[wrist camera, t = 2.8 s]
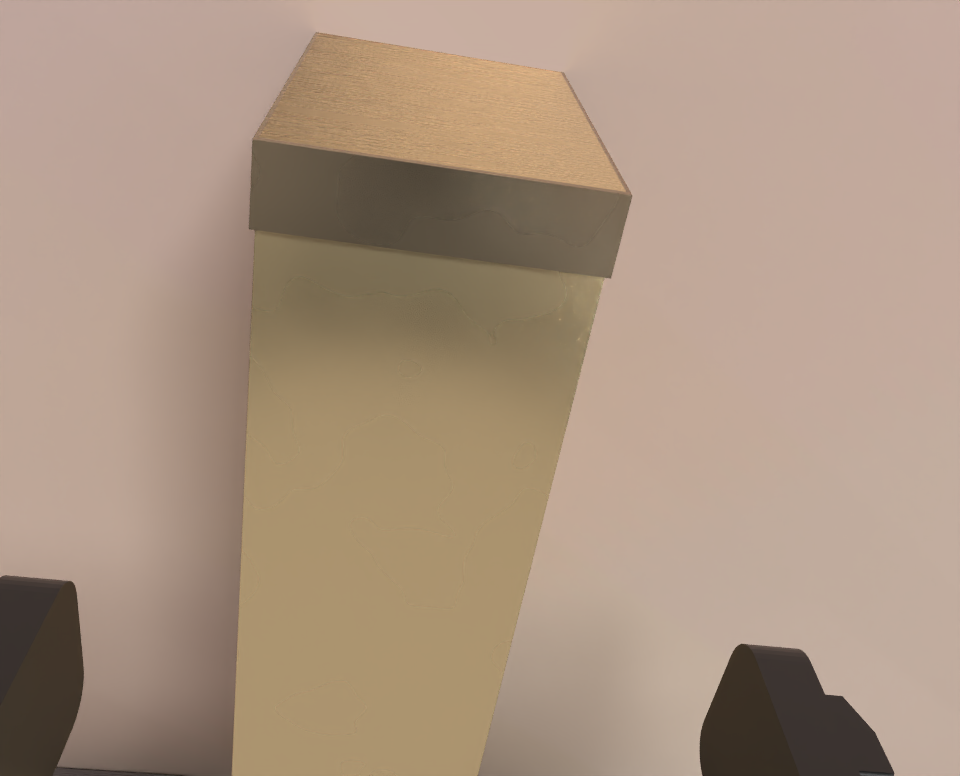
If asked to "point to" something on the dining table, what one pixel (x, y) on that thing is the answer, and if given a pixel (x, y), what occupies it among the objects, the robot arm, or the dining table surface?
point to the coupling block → (406, 395)
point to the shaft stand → (96, 773)
